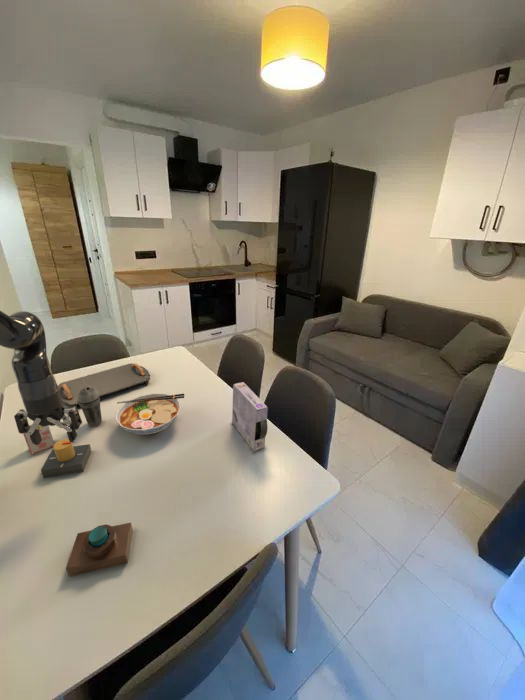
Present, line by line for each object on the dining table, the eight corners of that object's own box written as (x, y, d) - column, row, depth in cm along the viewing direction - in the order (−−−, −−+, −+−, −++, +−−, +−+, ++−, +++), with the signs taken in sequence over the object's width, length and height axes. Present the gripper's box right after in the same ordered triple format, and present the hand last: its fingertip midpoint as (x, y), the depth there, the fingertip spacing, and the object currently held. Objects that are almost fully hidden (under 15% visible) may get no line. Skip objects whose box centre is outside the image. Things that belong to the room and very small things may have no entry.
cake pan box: (267, 449, 101) (269, 407, 94) (255, 454, 99) (256, 411, 92) (242, 418, 116) (242, 380, 109) (231, 422, 114) (230, 383, 107)
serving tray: (138, 365, 155) (136, 355, 153) (157, 382, 140) (155, 371, 138) (52, 391, 131) (48, 379, 128) (64, 414, 116) (60, 401, 113)
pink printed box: (29, 448, 98) (20, 425, 94) (53, 439, 102) (45, 416, 98) (31, 454, 96) (21, 430, 92) (55, 445, 100) (47, 422, 96)
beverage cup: (108, 416, 115) (98, 372, 107) (102, 428, 109) (91, 382, 100) (88, 418, 114) (76, 373, 106) (81, 430, 107) (68, 384, 99)
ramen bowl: (108, 451, 98) (103, 431, 95) (123, 411, 119) (120, 394, 115) (184, 442, 103) (182, 423, 100) (186, 405, 124) (184, 389, 120)
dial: (54, 463, 89) (50, 449, 87) (60, 452, 93) (56, 439, 91) (72, 460, 90) (68, 447, 88) (77, 449, 94) (73, 436, 92)
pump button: (88, 549, 65) (86, 543, 64) (92, 533, 68) (91, 527, 67) (106, 545, 66) (104, 539, 65) (109, 530, 69) (108, 524, 68)
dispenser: (69, 576, 64) (63, 562, 62) (80, 541, 71) (75, 527, 69) (127, 563, 67) (124, 549, 65) (132, 530, 74) (129, 516, 72)
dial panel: (43, 477, 88) (40, 469, 86) (54, 456, 96) (52, 448, 94) (83, 471, 90) (81, 463, 89) (91, 450, 98) (89, 443, 97)
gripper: (-3, 401, 68) (18, 454, 75) (64, 397, 71) (79, 448, 77) (16, 385, 75) (34, 434, 82) (76, 382, 77) (89, 430, 84)
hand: (56, 441), depth 79 cm, fingers open, 8 cm apart
